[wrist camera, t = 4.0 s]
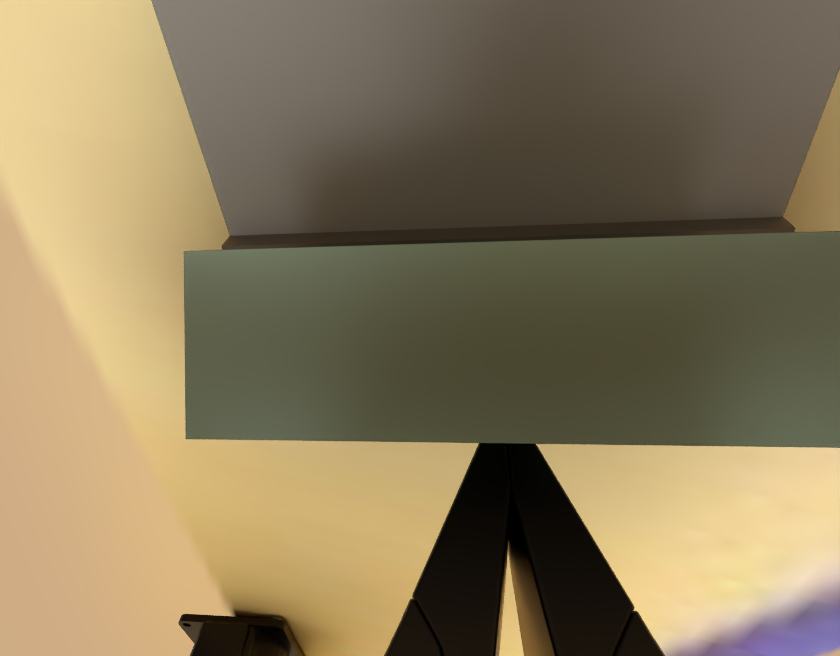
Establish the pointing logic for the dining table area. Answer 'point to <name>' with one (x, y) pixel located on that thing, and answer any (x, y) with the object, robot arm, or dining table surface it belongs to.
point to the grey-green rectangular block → (520, 342)
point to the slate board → (501, 115)
